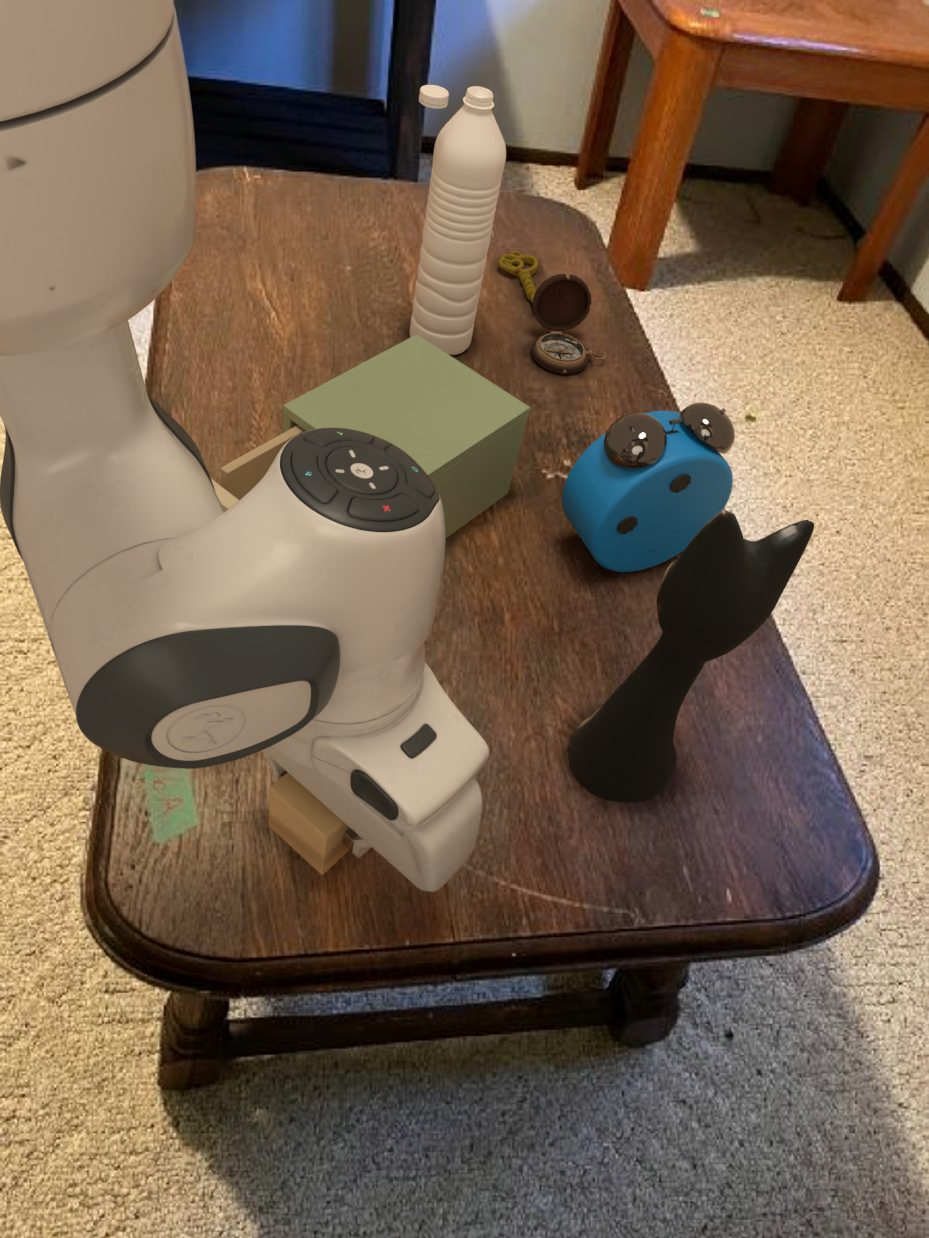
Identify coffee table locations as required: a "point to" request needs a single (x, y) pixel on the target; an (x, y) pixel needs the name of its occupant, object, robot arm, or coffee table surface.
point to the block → (306, 824)
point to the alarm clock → (650, 485)
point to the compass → (561, 323)
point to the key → (521, 270)
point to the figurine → (683, 652)
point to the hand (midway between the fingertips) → (324, 813)
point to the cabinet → (427, 421)
